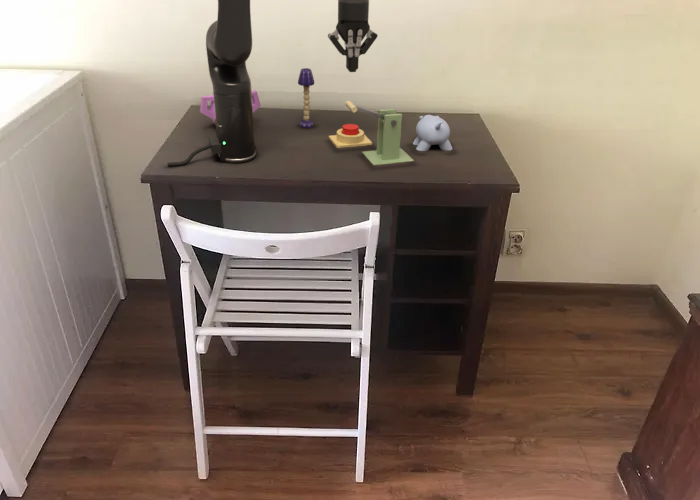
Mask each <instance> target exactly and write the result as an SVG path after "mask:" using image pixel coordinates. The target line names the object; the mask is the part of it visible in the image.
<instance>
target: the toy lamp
mask: <svg viewBox="0 0 700 500" xmlns="http://www.w3.org/2000/svg"><path fill="white" fill-rule="evenodd" d="M314 78H315V77H314V75H313V71H312V69H311V68H307V67H306V68H305V67H304V68H301V69H300V71H299V74H298V79H297V84H298V85H299V86H302V87H303V91H302V93H303V119H302V120H301V121H300V122H299V127H300V128H301V129H312V128H314V127H315V124H314V121H313V120H311V119H310V108H311V107H310V102H311V101H310V99H311V98H310V97H311V96H310V87H313V86H314V85H315V79H314Z"/></svg>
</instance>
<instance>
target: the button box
mask: <svg viewBox="0 0 700 500" xmlns="http://www.w3.org/2000/svg"><path fill="white" fill-rule="evenodd" d="M328 139H329V140H330V142H331V143H332V144H333V145H334V146H335V148H336V149H342V148H344V149H345V148H353V147H363V146H372V145H373V142H372V140H370V139H369V137H368V136H367V135H366V134H365V131H364V130H363V129H360V128H359V133H358V134H357V135H345V134H342V128H339V129H337V131H336V134H334V135H328Z"/></svg>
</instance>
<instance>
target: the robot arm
mask: <svg viewBox="0 0 700 500" xmlns="http://www.w3.org/2000/svg"><path fill="white" fill-rule="evenodd" d="M369 11H370V0H337V23H336V25H335V30H334V31H333V32H331V33H328V34H327V38H328V39H329V40H330V42H331V44H333V46H334V47H335V49H336V50H337V52H338V53H339V54H341V56H345V68H346V70H348V72H349V73H356V72H357V70H358V69H359V58H360V56H362V55H366V53H367V52H368V51H369V49H371V46H372V45H373V44H374V42H375V41H376V39H377V38H378V36H379V35H378V33H376V32H375V31H373V30H372V29H371V26H370V24H369V14H370V13H369ZM251 14H252V13H251V0H217V20H215V21H213V22H212V23H211V24H210V25H209V27H208V28H207V30H206V34H205V47H206V48H205V50H206V57H207V66H208V74H209V78H210V82H211V85H212V95H213V94H214V105H215V116H216V118H215V124H214V125H215V136H210V137H208V143H209V144H207V145H204V146H202V147H199V148H197V149H195V150H194V151H192V152H191V153H190V154H189V155H188V157H187V158H186V159H184V160H182V161H176V162H175V161H173V162H167V167H180V166H184V165H187V164H189V163H190V162H191V161H192V159H193V158H194V157H195V156H196V155H198V154H200V153H202V152H204V151H207V150H209V149H210V151H211V154H212V155H217V154H218V158H219V160H220V162H221V163H230V164H231V163H232V164H237V163H238V164H240V163H246V162H249V161H252V160H254V159H255V158H256V155H257V147H256V143H255V142H256V141H255V127H254V126H255V125H254V112H253V108H252V103H253V101H252V80H251V77H250V75H249V72H248V69H247V61H248V59H249V58H250V56H251V53H252V50H253V32H252V15H251ZM340 38H341V39H342V41H343V42H344V47H343V45H342V44H341V43H340V42H339V40H340ZM363 40H364V41H363Z"/></svg>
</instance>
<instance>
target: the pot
mask: <svg viewBox="0 0 700 500" xmlns="http://www.w3.org/2000/svg"><path fill="white" fill-rule="evenodd" d="M251 91H252V108H253V113H255V112H256V111H257V110H258V109H259V108H260V107H261V106H262V105H261V101H260V98H259V94H258V91H257V90H256V89H251ZM208 102H210V103H209V108H208ZM199 112H200V113H201V114H202V115H203V116H205V117H208V118H210V120H211V121H212V123H213V124H214V125H215V118H216V116H215V105H214V94H213V93H212V95H201V98H200V108H199Z"/></svg>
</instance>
